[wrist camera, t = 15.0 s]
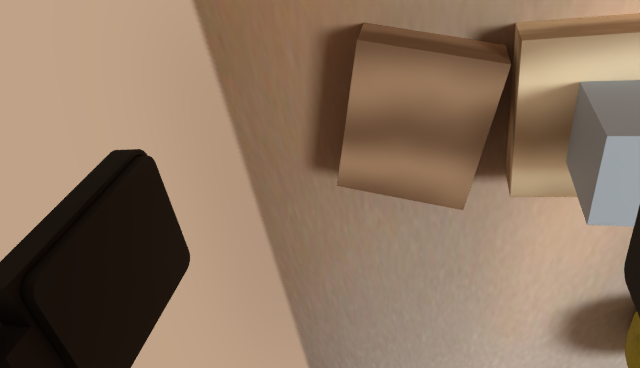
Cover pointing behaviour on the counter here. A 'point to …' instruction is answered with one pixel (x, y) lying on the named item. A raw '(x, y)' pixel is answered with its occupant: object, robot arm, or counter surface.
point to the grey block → (606, 151)
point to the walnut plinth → (419, 113)
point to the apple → (633, 343)
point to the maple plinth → (560, 92)
